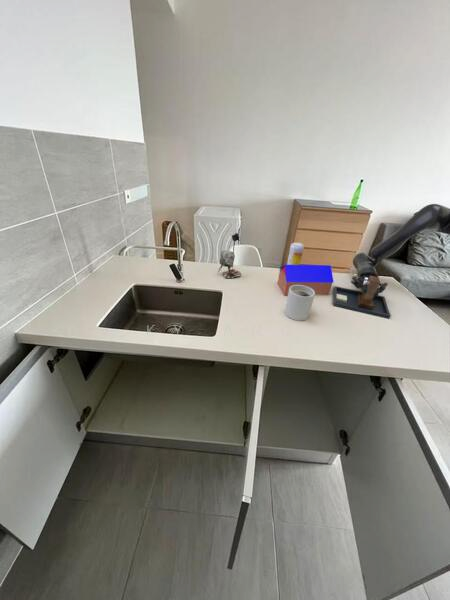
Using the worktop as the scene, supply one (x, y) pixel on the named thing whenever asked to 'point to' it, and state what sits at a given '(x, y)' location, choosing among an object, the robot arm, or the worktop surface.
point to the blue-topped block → (306, 278)
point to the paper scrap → (341, 298)
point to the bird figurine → (229, 260)
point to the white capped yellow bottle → (295, 254)
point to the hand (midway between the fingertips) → (371, 292)
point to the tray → (351, 304)
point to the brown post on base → (368, 294)
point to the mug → (299, 302)
